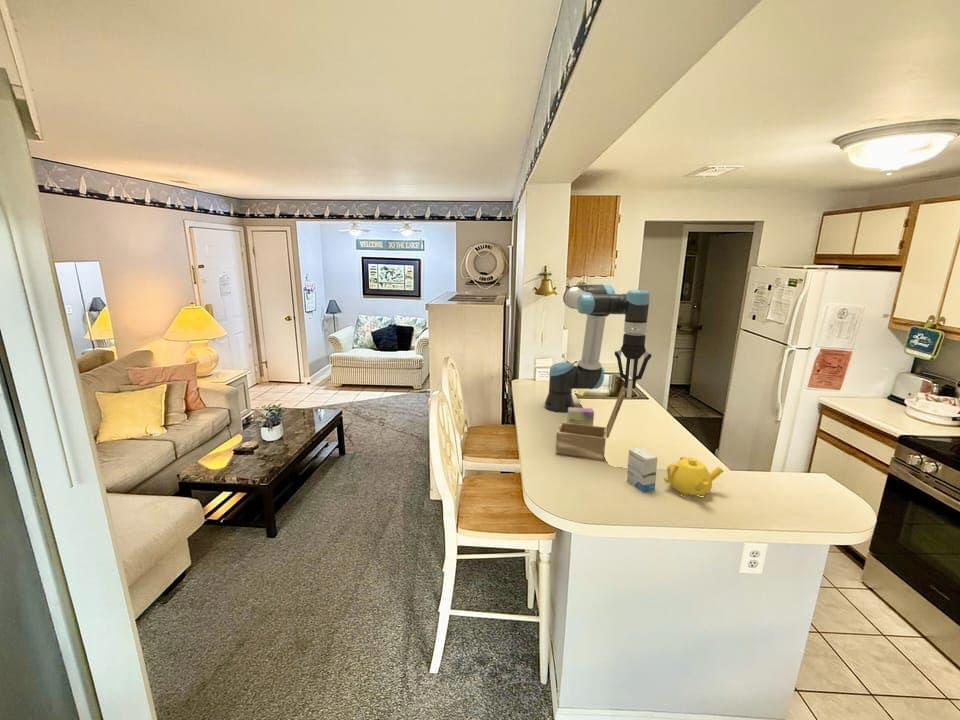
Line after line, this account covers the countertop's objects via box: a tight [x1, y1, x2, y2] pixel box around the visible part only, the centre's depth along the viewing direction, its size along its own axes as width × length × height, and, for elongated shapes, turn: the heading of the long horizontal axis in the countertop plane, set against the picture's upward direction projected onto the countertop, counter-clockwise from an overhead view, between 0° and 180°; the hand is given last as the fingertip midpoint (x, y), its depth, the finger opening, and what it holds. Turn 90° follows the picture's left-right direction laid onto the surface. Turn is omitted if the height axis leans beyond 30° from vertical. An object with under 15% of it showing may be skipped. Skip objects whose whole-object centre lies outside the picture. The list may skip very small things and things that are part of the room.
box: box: [566, 406, 595, 426], centre depth 180 cm, size 10×6×12 cm, turn 84°
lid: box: [606, 385, 626, 439], centre depth 158 cm, size 12×17×1 cm
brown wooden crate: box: [555, 421, 607, 462], centre depth 164 cm, size 12×18×9 cm, turn 72°
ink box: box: [626, 447, 658, 493], centre depth 138 cm, size 9×5×12 cm, turn 19°
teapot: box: [663, 456, 724, 497], centre depth 134 cm, size 14×14×11 cm
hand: (628, 396), depth 155 cm, fingers closed
